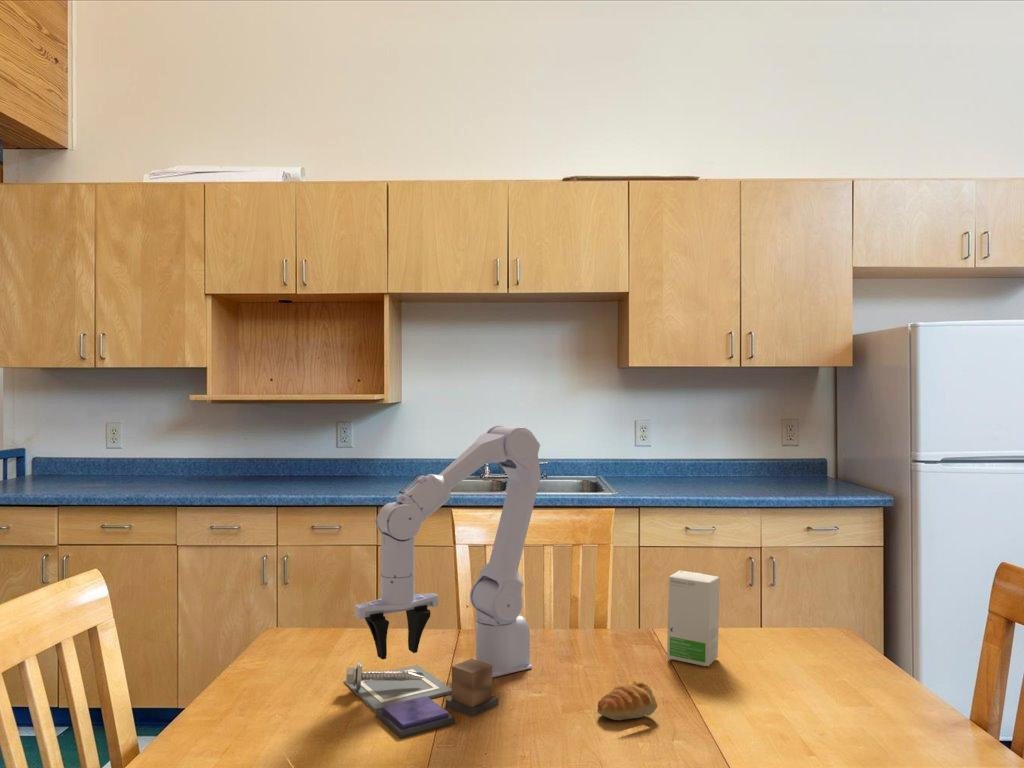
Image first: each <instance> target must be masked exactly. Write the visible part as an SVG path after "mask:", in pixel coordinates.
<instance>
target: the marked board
mask: <svg viewBox="0 0 1024 768" xmlns="http://www.w3.org/2000/svg"><path fill="white" fill-rule="evenodd" d="M393 670H394V671H400V670H401V671H406V672H407V671H408V672H422V673H423V674H424V678H423V679H422V680H409V681H402V682H401V681H395V682H394V681H388V682H387V681H381V682H380V681H377V682H376V681H370V682H369V681H363V682H362V681H361V687H360V690H358V692H356V685H355V686H353V684H346V679H345V680H343V683H344V684H345V685H346V686H347V687H348V688H349V689H350V690H351V691H352V692H353V693H354V694H356V696H357V697H359V698H360V700H362V701H363V702H364V704H366V705H367V706H368V707H369V708H370V709H371V710H372V711H374V712H375V713H376V710H378V709H382V706H387V705H391V704H395V703H399V702H403V701H407V700H411V699H415V698H420V697H424V696H427V697H429V698H430V699H431V700H432V699H435V698H439V697H443V696H447V695H452V687H450V686H448V685H447V684H446V683H444V682H443V681H441V680H440V679H438V678H436V677H435V676H434V675H433V674H431V673H430V672H428V671H426V670H425V669H424V668H422V667H420V666H419V665H418V664H416V665H411V666H406V667H402V668H397V669H393ZM393 670H392V669H391V671H393Z"/></svg>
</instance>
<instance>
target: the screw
mask: <svg viewBox="0 0 1024 768" xmlns="http://www.w3.org/2000/svg"><path fill="white" fill-rule="evenodd" d="M362 669H363V662H361V660H358V661H357V665H354V667H347V668H346V676H345V678H346V679H345V680H346V684H353V686H355V685H356V692H358V690H360V687H361V681H362V682H363V681H369V682H370V681H376V682H377V681H380V682H381V681H387V682H388V681H394V682H395V681H401V682H402V681H409V680H422V679H423V678H424V674H423V673H422V672H408V671H407V672H406V671H401V670H400V671H394V670H395V669H393V671H392V670H388V671H387V670H386V669H385V670H380V669H378V671H377V669H376V670H371V671H370V670H367V671H366V670H362ZM346 684H345V685H346Z"/></svg>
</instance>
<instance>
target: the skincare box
mask: <svg viewBox="0 0 1024 768" xmlns="http://www.w3.org/2000/svg"><path fill="white" fill-rule="evenodd" d="M720 579H721V576H716V575H711V574H705V573H701V572H693V571H686V570H680V569H679V570H678V571H676V572H675V573H673V574H671V575H669V576H668V604H667V605H668V607H667V640H666V642H667V644H666V658H667V659H669V660H675V661H680V662H684V663H689V664H692V665H693V664H694V665H698V666H703V667H706V666H708V667H709V666H710V665H711V664H712V663H713V662H714V661H715V660H716V659H717V658H718V657H719V656H718V655H719V628H720V627H719V620H720V619H719V618H720V616H719V615H720V584H721V582H720V581H721V580H720Z"/></svg>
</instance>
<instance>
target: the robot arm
mask: <svg viewBox="0 0 1024 768" xmlns="http://www.w3.org/2000/svg"><path fill="white" fill-rule="evenodd" d="M540 447H541V444H540V442H539V441H538V439H537V438H536V436H535V435H534V433H533V432H532V431H531V430H530V429H528V428H526V427H510V426H503V425H495V426H492V427H490V428H489V429H488V430H487V431H486V432H483V433H482V434H480V435H478V437H477V439H475V441H474V442H473V443H472V444H471V445H470V446H468V448H466V450H465V451H463V452H462V453H461V454H460V455H459V456H457V458H456V459H455V460H453V461H452V462H451V463H450V464H449V465H448V466H447V467H445V469H443V471H441V472H440V473H439V474H434V473H428V474H427V475H420V476H419V477H418V478H417V479H416V481H417V483H416V484H414V485H413V486H412V487H411V488H410V489H408V490H407V491H406V492H404V494H400V493H399V494H398V495H397V496H396V501H393V502H388V503H386V504H385V505H383V506H382V507H381V509H380V510H379V512H378V514H377V516H376V518H375V519H374V521H375V523H374V524H375V526H376V528H377V530H378V531H379V532H380V598H378V599H375V600H371V601H368V602H364V603H360V604H355V605H354V617H355V618H356V619H358V620H365V622H366V624H367V626H368V628H369V630H370V632H371V635H372V638H373V641H374V645H375V649H376V654H377V655H376V656H377V657H378V658H379V659H380V660H386V659H387V653H388V652H387V651H388V650H387V648H388V647H387V639H388V629H389V624H390V621H389V620H388V619H386V616H385V615H386V614H393V613H398V612H404V611H405V615H406V619H407V634H408V635H407V646H408V648H407V649H408V651H410V652H411V653H413V654H416V653H418V650H419V645H420V642H421V637H422V635H423V632H424V630H425V627H426V625H427V623H428V621H429V620H430V618H431V610H430V609H429V608H428V607H432V608H434V607H435V608H436V607H438V606H439V595H438V594H436V593H434V592H430V593H418V594H417V593H415V580H416V579H415V575H416V574H415V549H416V548H415V537H416V536H417V534H418V533H419V531H420V529H421V524H422V523H423V522H424V521H425V520H427V519H428V518H429V517H430V516H431V515H433V514H434V513H435V512H436V511H437V510H438V509H440V508H441V507H442V506H443V505H444V504H446V503H447V502H448V501H449V500H450V498H451V492H452V489H453V488H455V487H456V486H457V485H459V484H460V483H462V482H463V481H464V480H465V479H467V478H469V477H470V476H471V475H472V474H474V473H475V472H477V470H480V468H482V467H483V466H485V464H495V463H496V464H497V463H498V464H499V465H500V466H501V468H502V469H503V471H504V472H505V474H506V476H507V477H508V478H509V483H508V485H507V491H506V494H505V498H504V502H503V505H502V509H501V513H500V517H499V518H500V519H499V521H498V525H497V529H496V533H495V537H494V542H493V545H492V549H491V550H492V551H491V554H490V558H489V561H488V563H486V564H485V565H484V566H483V567H482V568H481V569H480V571H479V575H478V577H477V579H476V581H475V582H474V583H473V584H472V587H471V588H470V590H469V591H470V592H469V600H470V604H471V605H472V607H473V608H474V609H475V621H476V623H475V625H476V626H475V636H476V637H475V642H476V643H475V646H476V647H475V648H476V649H475V658H476V659H475V660H478V661H481V662H484V663H487V664H490V665H492V678H496V677H500V676H505V675H508V674H513V673H517V672H520V671H525V670H529V669H533V665H532V664H531V663H530V662H531V661H530V660H531V659H530V658H531V647H530V646H531V637H530V636H531V634H530V627H529V624H528V621H527V619H526V618H525V617H524V616H522V615H521V612H522V610H523V596H522V595H523V594H522V592H523V588H524V587H523V585H524V583H523V579H522V577H521V575H520V572H519V566H520V563H521V559H522V554H523V549H524V545H525V542H526V541H525V540H526V539H527V535H528V530H529V526H530V523H531V518H532V514H533V509H534V505H535V502H536V499H537V498H536V497H537V493H538V489H539V486H540V482H541V467H540V460H539V451H540Z"/></svg>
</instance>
